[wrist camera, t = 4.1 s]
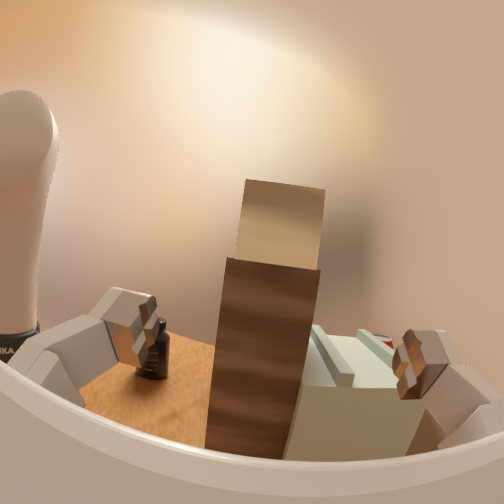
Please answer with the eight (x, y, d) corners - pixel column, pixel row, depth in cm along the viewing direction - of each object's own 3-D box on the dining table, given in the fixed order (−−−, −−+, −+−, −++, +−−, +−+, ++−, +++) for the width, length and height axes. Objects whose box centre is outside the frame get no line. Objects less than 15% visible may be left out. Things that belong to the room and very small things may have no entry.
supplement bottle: (140, 364, 55) (143, 312, 55) (170, 370, 56) (174, 318, 56) (131, 376, 48) (133, 319, 49) (164, 383, 49) (168, 325, 49)
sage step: (369, 516, 18) (436, 373, 18) (265, 519, 18) (306, 370, 19) (341, 440, 35) (372, 330, 36) (269, 436, 36) (291, 322, 36)
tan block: (316, 270, 12) (325, 189, 12) (234, 258, 12) (245, 179, 12) (286, 265, 36) (290, 237, 36) (259, 261, 36) (263, 234, 36)
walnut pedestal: (266, 510, 20) (320, 270, 21) (200, 500, 20) (227, 257, 21) (269, 436, 36) (299, 267, 37) (223, 429, 36) (246, 259, 37)
